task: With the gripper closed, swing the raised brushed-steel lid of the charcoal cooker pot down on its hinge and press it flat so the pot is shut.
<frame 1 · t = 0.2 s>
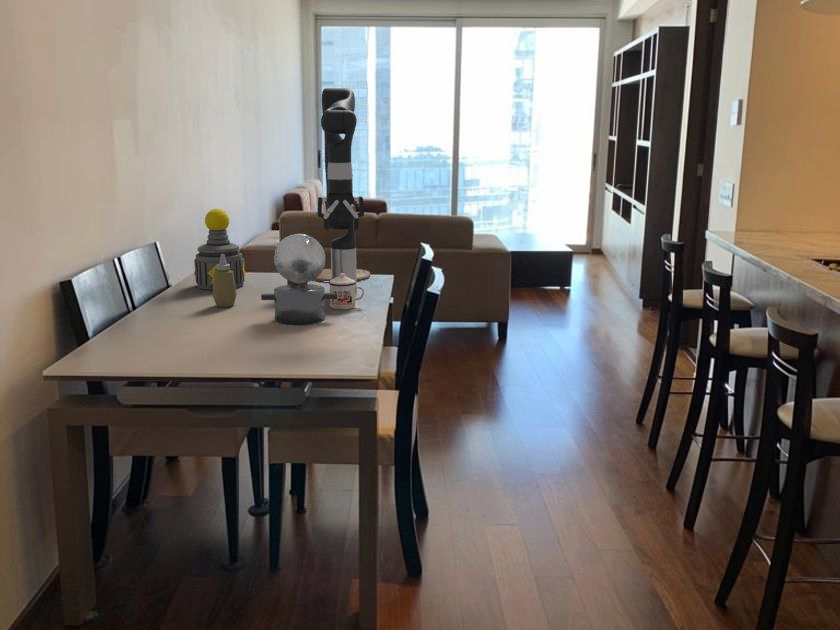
hand: (341, 230, 249), 29 cm above the table, fingers open, 8 cm apart
decorative lamp: (220, 286, 313), on the table
squeeze bottle: (225, 306, 279), on the table
trivet: (339, 278, 333), on the table
teacup with lid: (346, 307, 278), on the table
cooker pot: (300, 319, 260), on the table
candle: (297, 296, 296), on the table
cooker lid: (300, 257, 264), point 19 cm above the table, hinge at 80.0°
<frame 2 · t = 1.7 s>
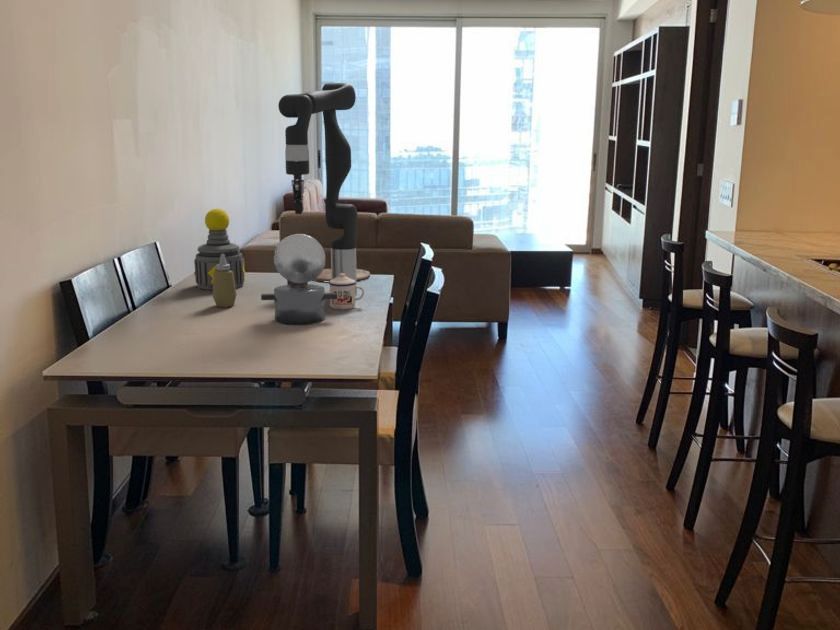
hand: (298, 213, 262), 33 cm above the table, fingers closed
nothing on the table moved.
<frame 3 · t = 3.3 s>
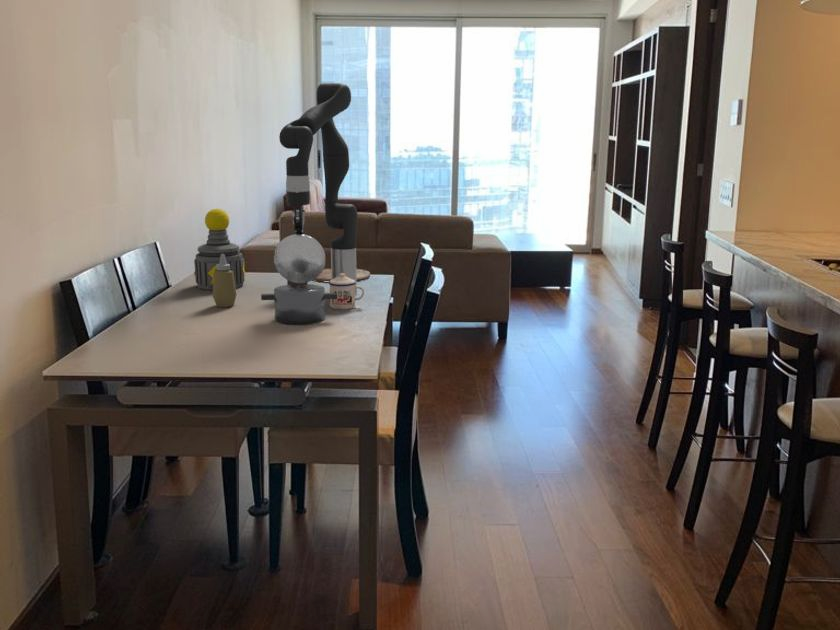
hand: (299, 243, 263), 23 cm above the table, fingers closed
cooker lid: (300, 257, 264), point 19 cm above the table, hinge at 79.6°, touching gripper
everything else where it was.
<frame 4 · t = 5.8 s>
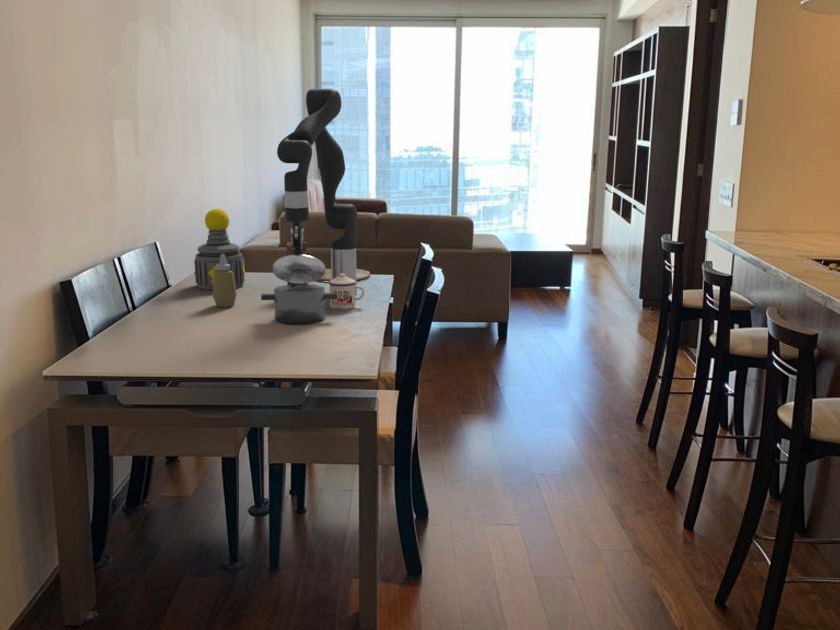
hand: (298, 260, 255), 19 cm above the table, fingers closed
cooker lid: (299, 266, 259), point 17 cm above the table, hinge at 39.6°, touching gripper
everything else where it was.
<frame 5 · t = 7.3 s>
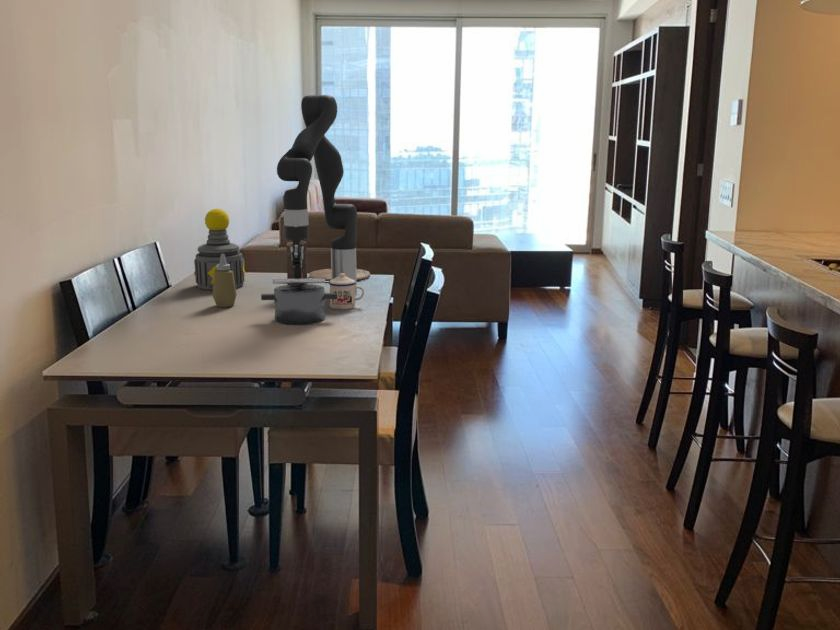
hand: (298, 278, 253), 14 cm above the table, fingers closed
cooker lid: (299, 278, 257), point 13 cm above the table, hinge at 12.2°, touching gripper
everything else where it was.
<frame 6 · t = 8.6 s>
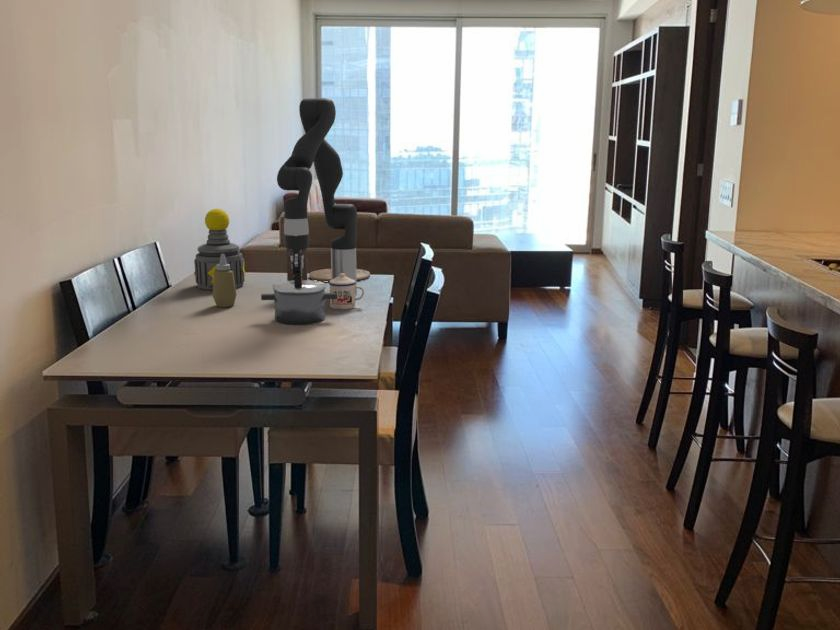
hand: (298, 287, 253), 11 cm above the table, fingers closed
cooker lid: (299, 283, 257), point 12 cm above the table, hinge at 0.3°, touching gripper
everything else where it was.
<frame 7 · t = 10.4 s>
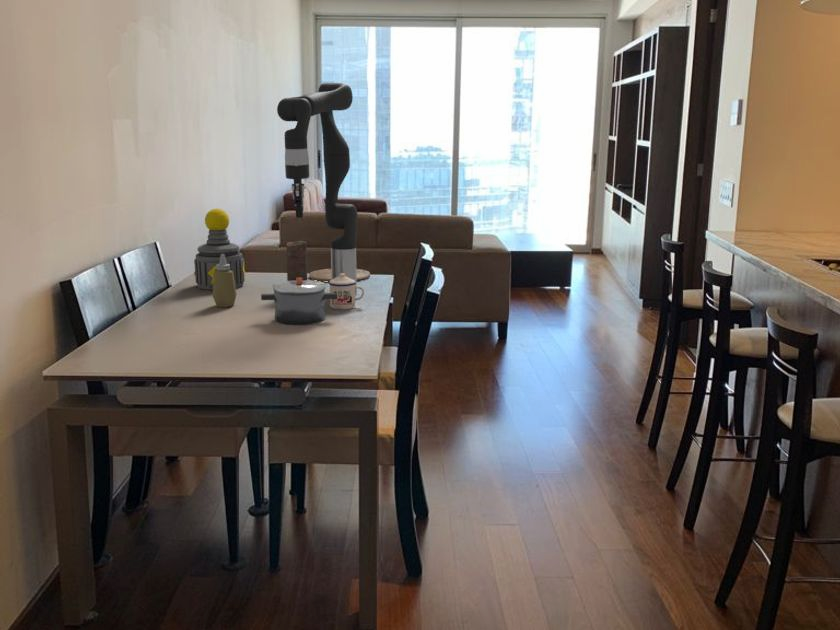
hand: (299, 217, 261), 32 cm above the table, fingers closed
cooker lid: (299, 283, 257), point 12 cm above the table, hinge at 0.3°
everything else where it was.
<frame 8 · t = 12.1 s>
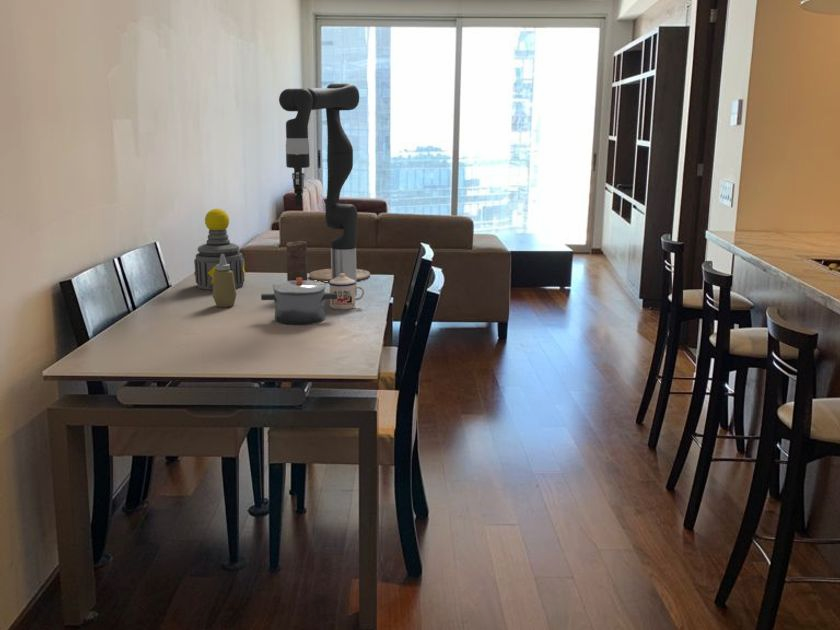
hand: (299, 206, 264), 35 cm above the table, fingers closed
nothing on the table moved.
at the end: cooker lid at +0° (first picture: +80°) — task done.
